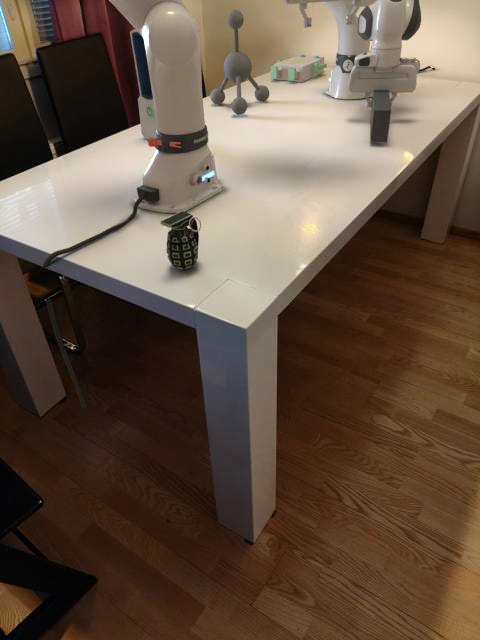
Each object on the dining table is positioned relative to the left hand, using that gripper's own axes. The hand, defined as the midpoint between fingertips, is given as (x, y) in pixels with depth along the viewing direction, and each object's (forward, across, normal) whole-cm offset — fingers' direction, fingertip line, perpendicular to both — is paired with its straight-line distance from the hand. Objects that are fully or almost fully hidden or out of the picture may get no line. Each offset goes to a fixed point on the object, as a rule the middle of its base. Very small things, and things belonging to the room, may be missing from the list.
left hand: (328, 25), depth 108 cm
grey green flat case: (+32, -12, -107) cm, 112 cm away
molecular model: (+32, +15, -64) cm, 73 cm away
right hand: (+28, -25, -35) cm, 51 cm away
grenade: (+32, +35, +44) cm, 65 cm away
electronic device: (+32, +43, -34) cm, 63 cm away
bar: (+31, -23, -26) cm, 46 cm away
